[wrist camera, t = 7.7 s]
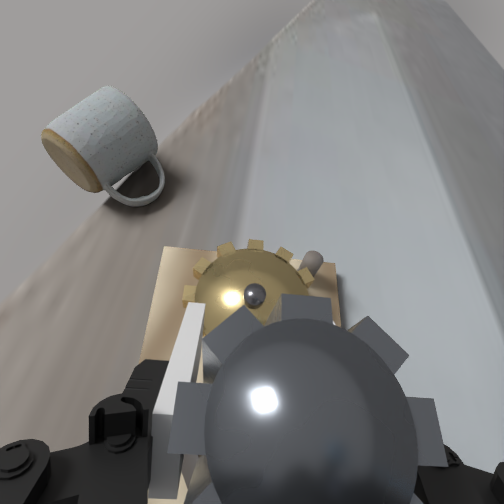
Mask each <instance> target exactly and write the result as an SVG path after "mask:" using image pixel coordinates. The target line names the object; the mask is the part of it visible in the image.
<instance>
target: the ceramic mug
mask: <svg viewBox="0 0 504 504" xmlns="http://www.w3.org/2000/svg"><path fill="white" fill-rule="evenodd" d="M41 136H42V137H41V138H42V143H43V145H44V147H45V149H46V151H47V152H48V154H49V155H50V157H51V158H52V159H53V161H54V162H55V163H56V164H57V166H58V167H59V168H60V169H61V170H62V171H63V172H64V173H65V174H66V175H67V176H68V177H69V178H70V179H71V180H72V181H73V182H74V183H76V184H77V185H78V186H80V187H81V188H82V189H84V190H86V191H89V192H93V193H97V192H100V191H102V190H106V191H107V192H108V193H109V195H110V196H111V197H113V198H114V199H116V200H117V201H119V202H121V203H123V204H125V205H128V206H134V207H137V206H144V205H147V204H149V203H151V202H153V201H154V200H155V199H156V198H157V197H158V196H159V195H160V193H161V192H162V190H163V187H164V184H165V177H164V171H163V169H162V166H161V164H160V162H159V161H158V159H157V158H156V156H155V155H156V153H157V150H158V144H157V139H156V136H155V133H154V131H153V129H152V127H151V125H150V123H149V121H148V120H147V118H146V117H145V115H144V114H143V112H142V111H141V110H140V109H139V108H138V106H137V105H136V104H135V103H134V102H133V101H132V100H131V99H130V98H129V97H128V96H127V95H126V94H125V93H123V92H122V91H120V90H119V89H117V88H115V87H112V86H104V87H102V88H100V89H99V90H98V91H96V92H95V93H93V94H92V95H90V96H89V97H87V98H86V99H84V100H83V101H81V102H80V103H78V104H77V105H75V106H74V107H72V108H71V109H69V110H68V111H67V112H65V113H63V114H62V115H60V116H59V117H57V118H56V119H54V120H53V121H52V122H51V123H50V124H49V125H48V126H47V127H46V128H45V129H44V130H43V132H42V134H41ZM147 161H150V162H151V163H152V165H153V166H154V168H155V169H156V171H157V174H158V176H159V181H160V183H159V187H158V188H157V190H155V191H154V192H153V193H151V194H150V195H148V196H141V197H140V198H133V199H132V198H128V197H126V196H123V195H122V194H120V193H119V192H117V191H116V190H114V188H113V187H111V186H112V185H114V184H115V183H117V182H118V181H119V180H121V179H122V178H123V177H124V176H126V175H127V174H129V173H131V172H132V171H134V170H135V169H137V168H138V167H140V166H141V165H143V164H144V163H145V162H147Z"/></svg>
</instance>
